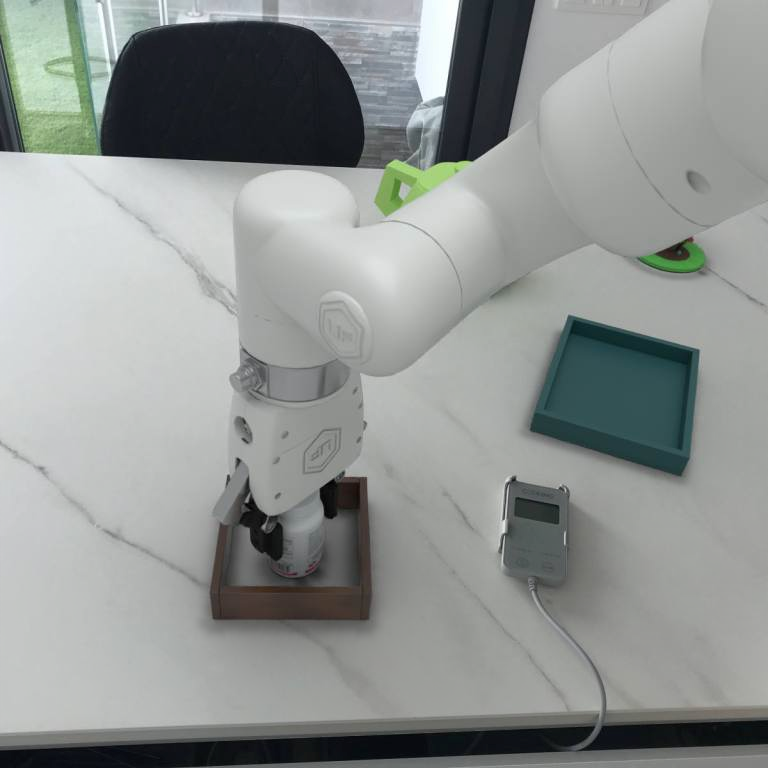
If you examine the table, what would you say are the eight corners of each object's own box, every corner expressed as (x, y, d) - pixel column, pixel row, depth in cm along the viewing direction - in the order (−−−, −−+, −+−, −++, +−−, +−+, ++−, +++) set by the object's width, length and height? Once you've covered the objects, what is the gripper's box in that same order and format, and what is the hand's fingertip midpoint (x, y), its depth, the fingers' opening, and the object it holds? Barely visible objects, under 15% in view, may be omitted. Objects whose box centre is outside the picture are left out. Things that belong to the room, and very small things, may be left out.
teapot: (490, 227, 115) (507, 133, 106) (546, 303, 100) (573, 201, 91) (367, 236, 110) (375, 138, 101) (409, 316, 96) (421, 210, 86)
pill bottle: (313, 529, 69) (314, 462, 63) (329, 571, 66) (333, 504, 60) (260, 541, 67) (257, 475, 62) (274, 585, 64) (273, 519, 59)
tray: (681, 476, 78) (689, 458, 76) (529, 430, 81) (534, 411, 80) (692, 366, 92) (700, 349, 90) (563, 331, 96) (568, 314, 94)
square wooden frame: (364, 502, 72) (367, 476, 69) (368, 620, 62) (371, 594, 60) (229, 500, 71) (227, 474, 68) (212, 619, 61) (209, 593, 59)
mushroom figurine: (730, 267, 111) (771, 169, 102) (658, 279, 107) (695, 178, 97) (678, 228, 119) (711, 133, 110) (610, 238, 115) (639, 140, 106)
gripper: (232, 445, 46) (243, 621, 57) (419, 330, 56) (396, 499, 67) (155, 384, 49) (181, 561, 61) (344, 287, 59) (335, 454, 71)
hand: (294, 527), depth 64 cm, fingers open, 5 cm apart
